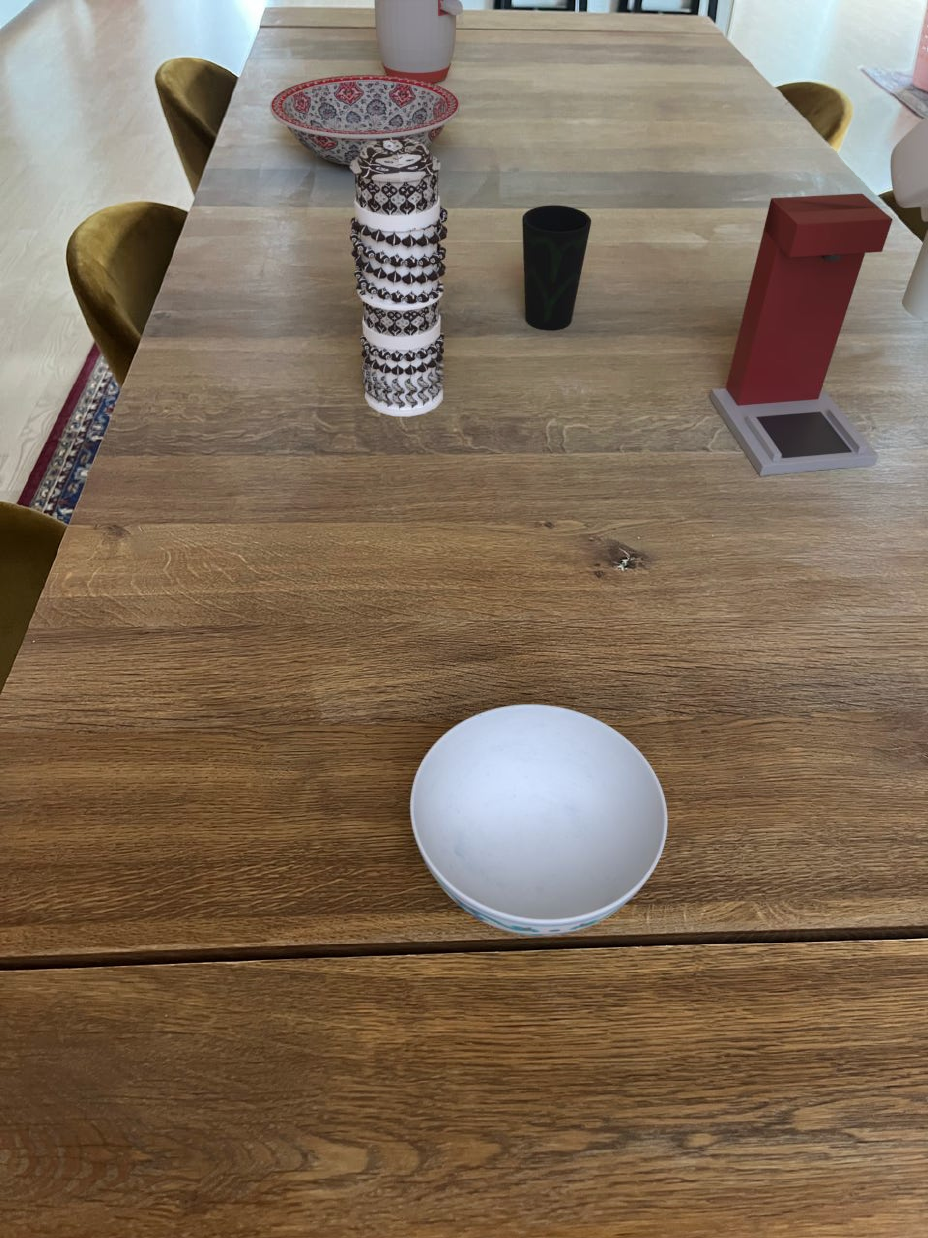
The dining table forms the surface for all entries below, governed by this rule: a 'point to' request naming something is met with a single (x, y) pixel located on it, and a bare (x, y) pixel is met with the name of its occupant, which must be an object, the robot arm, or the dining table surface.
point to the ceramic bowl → (362, 112)
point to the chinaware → (538, 818)
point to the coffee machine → (799, 335)
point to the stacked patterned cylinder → (399, 274)
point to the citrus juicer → (416, 37)
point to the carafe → (918, 286)
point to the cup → (553, 263)
